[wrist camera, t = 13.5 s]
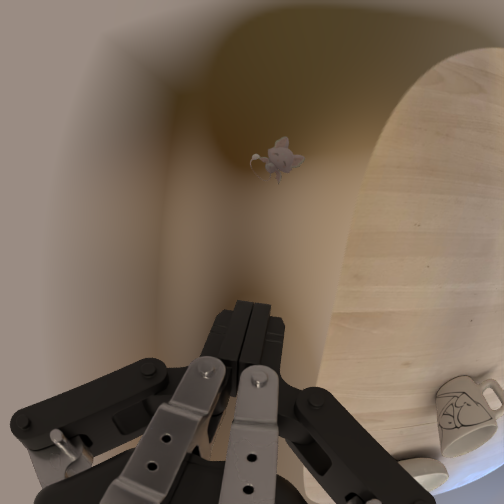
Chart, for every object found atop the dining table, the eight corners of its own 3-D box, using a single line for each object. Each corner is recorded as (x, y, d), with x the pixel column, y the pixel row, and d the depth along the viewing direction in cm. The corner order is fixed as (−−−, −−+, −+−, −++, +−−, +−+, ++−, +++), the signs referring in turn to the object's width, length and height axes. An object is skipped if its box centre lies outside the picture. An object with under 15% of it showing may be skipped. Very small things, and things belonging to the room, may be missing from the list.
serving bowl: (334, 472, 47) (333, 499, 41) (424, 436, 38) (429, 467, 32) (381, 487, 51) (381, 509, 45) (455, 456, 42) (459, 479, 36)
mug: (494, 351, 28) (520, 404, 19) (493, 381, 31) (512, 429, 22) (425, 386, 32) (439, 445, 24) (432, 412, 35) (443, 463, 26)
